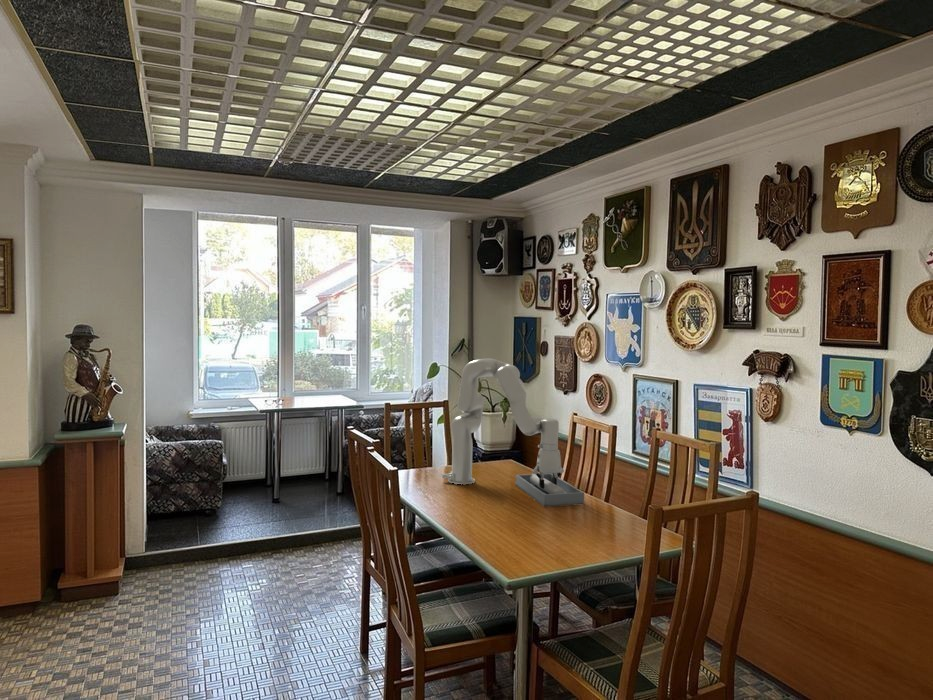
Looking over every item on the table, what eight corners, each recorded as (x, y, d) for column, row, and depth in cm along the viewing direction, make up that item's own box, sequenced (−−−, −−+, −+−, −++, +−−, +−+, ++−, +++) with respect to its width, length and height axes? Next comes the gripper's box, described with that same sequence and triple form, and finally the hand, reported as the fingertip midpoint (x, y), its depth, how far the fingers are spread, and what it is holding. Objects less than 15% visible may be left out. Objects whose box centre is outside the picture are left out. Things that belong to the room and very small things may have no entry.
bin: (544, 506, 256) (544, 494, 256) (515, 485, 289) (515, 474, 288) (583, 504, 261) (584, 492, 260) (551, 483, 293) (551, 473, 293)
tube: (568, 490, 264) (541, 475, 287) (558, 486, 262) (532, 471, 286) (563, 502, 264) (537, 486, 287) (553, 498, 262) (528, 482, 285)
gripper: (534, 449, 268) (532, 490, 269) (570, 448, 272) (569, 489, 273) (528, 445, 275) (526, 486, 276) (563, 444, 280) (561, 484, 280)
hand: (547, 487), depth 275 cm, fingers open, 4 cm apart
